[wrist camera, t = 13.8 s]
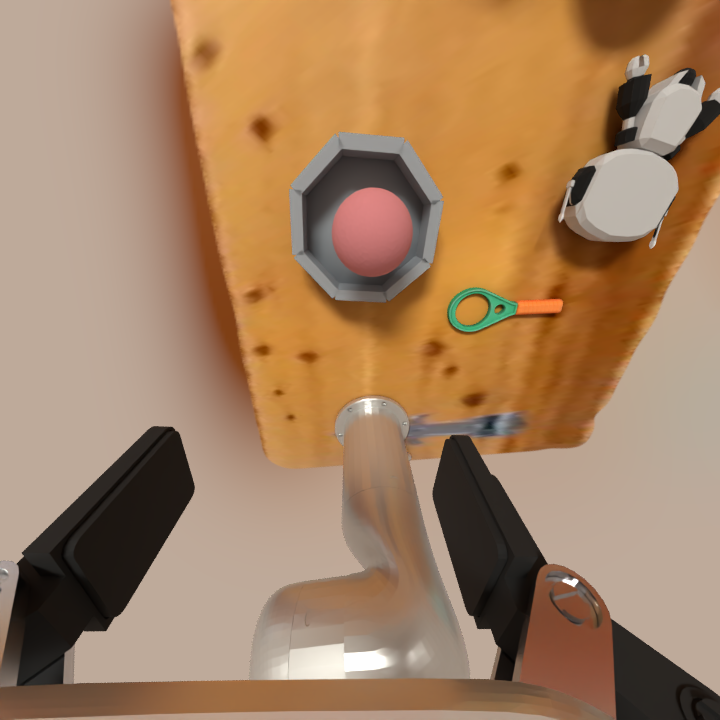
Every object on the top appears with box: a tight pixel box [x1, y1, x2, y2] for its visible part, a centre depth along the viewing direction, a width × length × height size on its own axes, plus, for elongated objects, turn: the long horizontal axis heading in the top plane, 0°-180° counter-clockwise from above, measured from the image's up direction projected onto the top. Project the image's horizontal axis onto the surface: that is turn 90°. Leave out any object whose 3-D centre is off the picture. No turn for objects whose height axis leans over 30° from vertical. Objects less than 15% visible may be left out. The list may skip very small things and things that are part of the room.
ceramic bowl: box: [289, 132, 444, 303], centre depth 30 cm, size 15×15×4 cm
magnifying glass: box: [447, 288, 563, 332], centre depth 37 cm, size 15×6×2 cm, turn 93°
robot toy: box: [558, 54, 720, 249], centre depth 29 cm, size 12×4×15 cm
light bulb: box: [332, 188, 413, 277], centre depth 26 cm, size 7×7×12 cm
